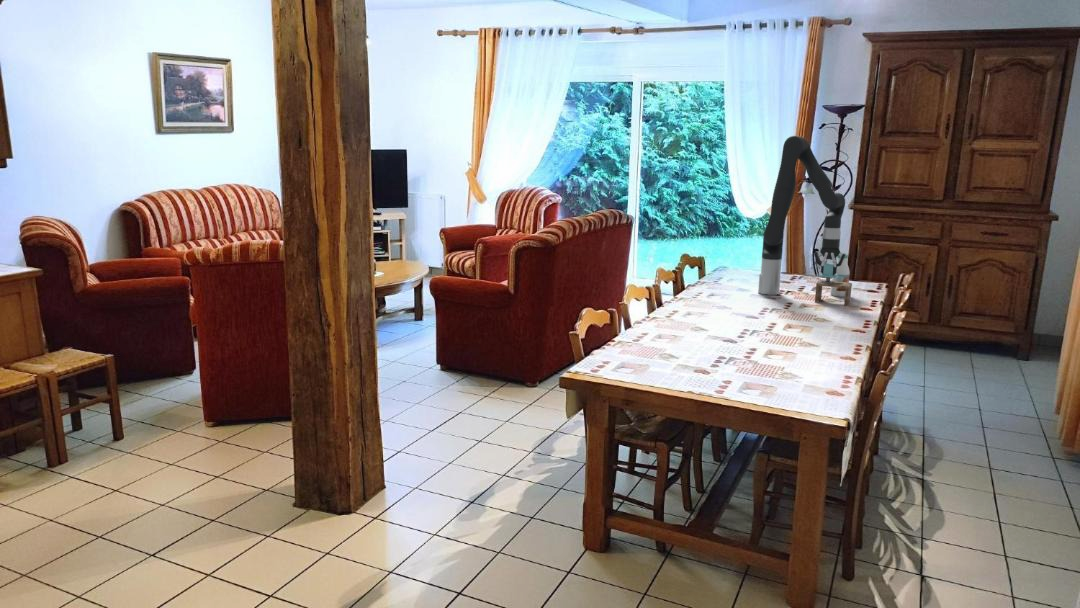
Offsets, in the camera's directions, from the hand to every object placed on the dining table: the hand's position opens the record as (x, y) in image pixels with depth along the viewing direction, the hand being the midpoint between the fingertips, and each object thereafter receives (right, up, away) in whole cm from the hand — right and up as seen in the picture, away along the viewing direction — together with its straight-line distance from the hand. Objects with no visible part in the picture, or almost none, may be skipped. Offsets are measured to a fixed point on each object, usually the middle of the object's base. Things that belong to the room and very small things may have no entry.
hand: (828, 274), depth 354 cm
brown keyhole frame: (+2, -13, +1) cm, 13 cm away
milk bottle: (+11, -10, +16) cm, 22 cm away
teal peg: (0, -5, +1) cm, 5 cm away
